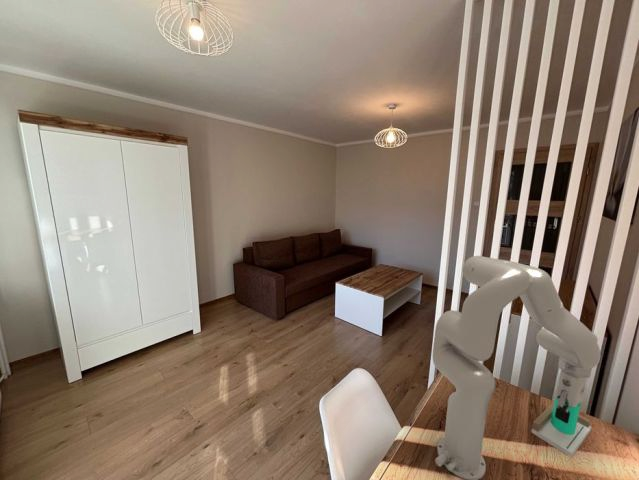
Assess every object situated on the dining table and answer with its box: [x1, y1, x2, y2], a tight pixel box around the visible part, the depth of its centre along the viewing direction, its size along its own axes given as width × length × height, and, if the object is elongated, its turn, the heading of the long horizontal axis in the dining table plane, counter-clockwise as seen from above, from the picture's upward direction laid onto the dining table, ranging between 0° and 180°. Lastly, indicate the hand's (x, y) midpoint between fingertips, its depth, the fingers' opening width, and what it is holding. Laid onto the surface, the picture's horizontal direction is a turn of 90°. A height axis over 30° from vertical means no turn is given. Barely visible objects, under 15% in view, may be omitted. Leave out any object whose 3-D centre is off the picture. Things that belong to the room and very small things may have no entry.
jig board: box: [531, 400, 592, 458], centre depth 87 cm, size 18×10×4 cm, turn 122°
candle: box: [551, 396, 582, 435], centre depth 87 cm, size 6×6×12 cm
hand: (564, 415), depth 87 cm, fingers closed on candle, 4 cm apart
